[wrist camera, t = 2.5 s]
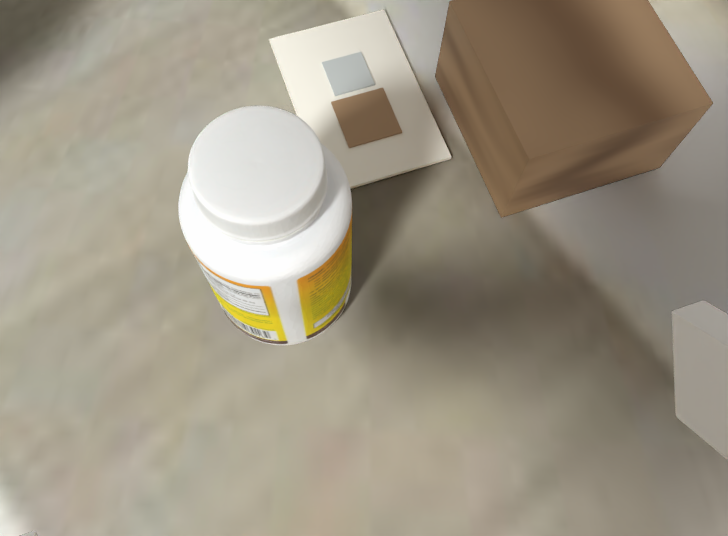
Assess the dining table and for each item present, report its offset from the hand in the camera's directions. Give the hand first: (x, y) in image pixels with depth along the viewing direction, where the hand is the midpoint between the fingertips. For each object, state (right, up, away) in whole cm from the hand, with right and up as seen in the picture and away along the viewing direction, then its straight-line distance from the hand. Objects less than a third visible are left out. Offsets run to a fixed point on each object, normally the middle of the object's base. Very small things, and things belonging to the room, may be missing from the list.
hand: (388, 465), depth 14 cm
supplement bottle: (-4, +3, +16) cm, 16 cm away
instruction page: (-1, +12, +19) cm, 23 cm away
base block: (+8, +11, +19) cm, 23 cm away
